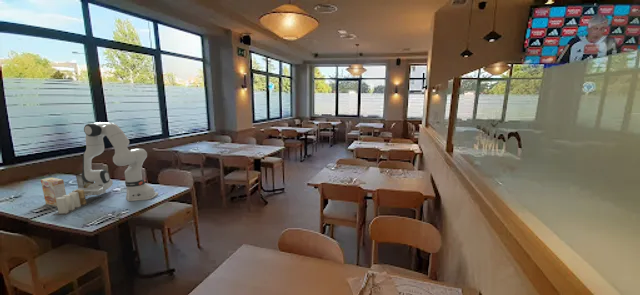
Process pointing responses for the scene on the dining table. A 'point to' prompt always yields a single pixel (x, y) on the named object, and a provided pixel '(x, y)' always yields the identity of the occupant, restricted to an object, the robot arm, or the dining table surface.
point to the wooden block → (81, 196)
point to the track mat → (88, 201)
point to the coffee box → (82, 182)
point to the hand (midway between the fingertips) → (79, 195)
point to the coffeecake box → (53, 190)
